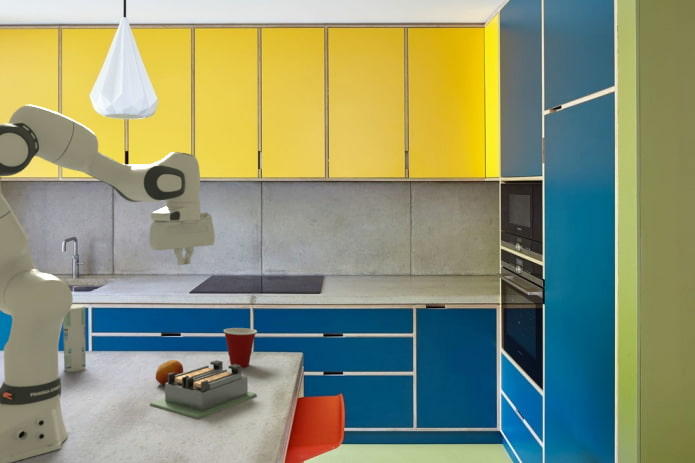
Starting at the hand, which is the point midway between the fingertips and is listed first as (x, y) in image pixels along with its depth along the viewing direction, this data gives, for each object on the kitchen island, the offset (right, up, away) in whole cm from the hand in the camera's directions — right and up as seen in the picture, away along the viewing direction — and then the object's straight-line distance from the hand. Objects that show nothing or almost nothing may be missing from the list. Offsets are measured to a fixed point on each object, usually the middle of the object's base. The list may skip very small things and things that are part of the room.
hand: (184, 264), depth 175 cm
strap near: (+8, -31, -2) cm, 32 cm away
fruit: (-8, -36, +16) cm, 41 cm away
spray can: (-42, -35, +30) cm, 62 cm away
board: (+6, -37, +1) cm, 38 cm away
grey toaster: (+6, -37, +1) cm, 38 cm away
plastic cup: (+9, -35, +36) cm, 51 cm away
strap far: (+3, -31, +2) cm, 31 cm away
